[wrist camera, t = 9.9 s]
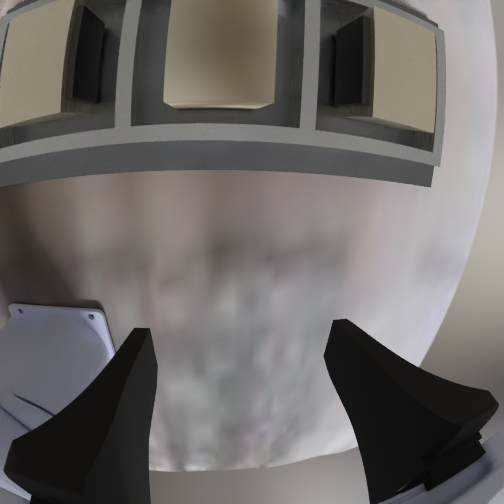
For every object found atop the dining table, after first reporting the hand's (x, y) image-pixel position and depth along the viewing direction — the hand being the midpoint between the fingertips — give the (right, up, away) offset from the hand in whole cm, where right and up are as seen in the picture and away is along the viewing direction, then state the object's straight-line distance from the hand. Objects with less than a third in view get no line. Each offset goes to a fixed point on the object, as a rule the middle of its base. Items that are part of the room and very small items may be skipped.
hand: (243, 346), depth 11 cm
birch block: (-1, +14, +2) cm, 14 cm away
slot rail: (-2, +14, +3) cm, 15 cm away
